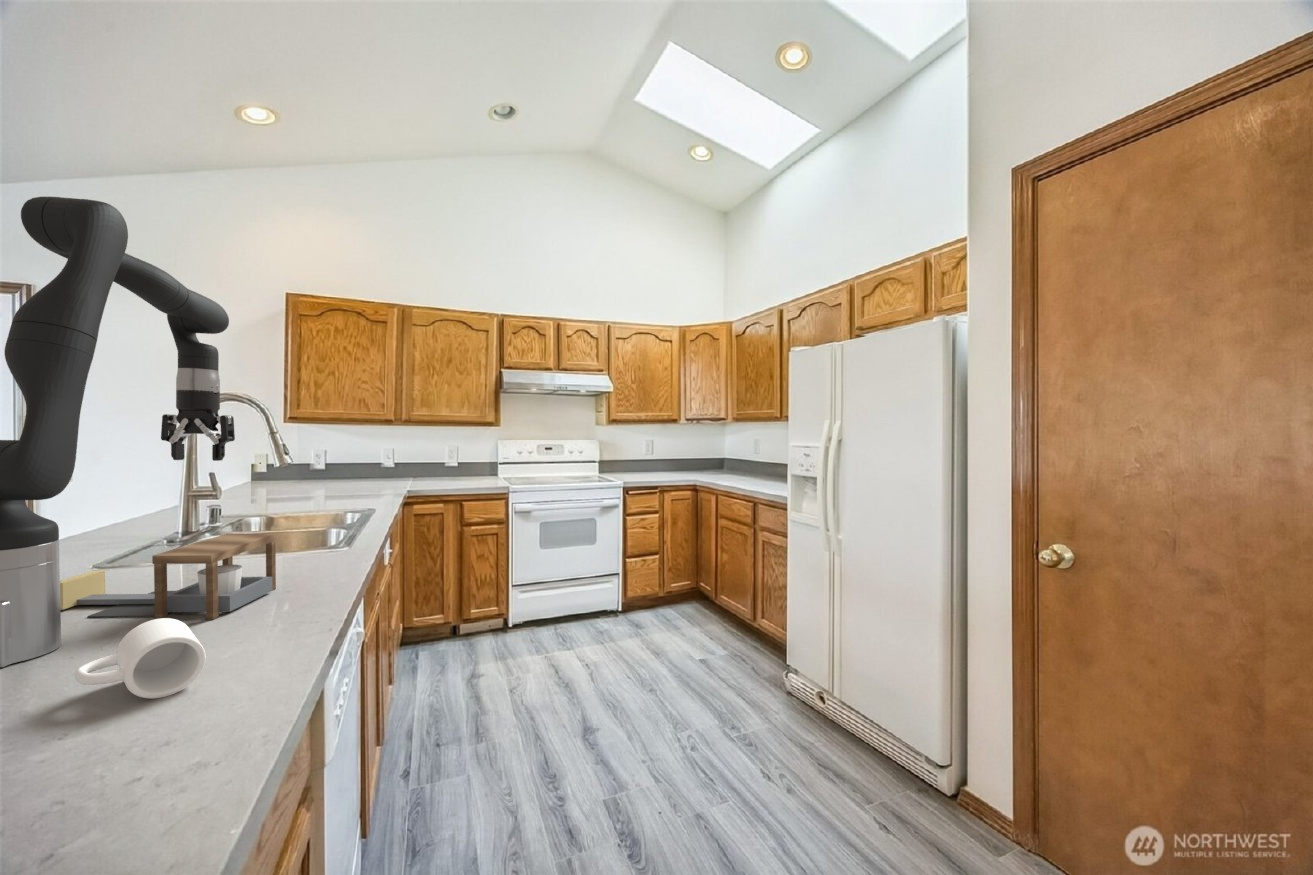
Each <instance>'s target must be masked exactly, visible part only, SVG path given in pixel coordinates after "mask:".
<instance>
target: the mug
mask: <svg viewBox="0 0 1313 875" xmlns="http://www.w3.org/2000/svg"><path fill="white" fill-rule="evenodd" d="M206 655H207V654H206V651H205V648H204V647H203V645H202V644H201V642H200V641H199V639H198V638H197V637H196V634H194V633H193V631H192V630H191V628H190V627H189V626H188V625H187V624H186V623H185V622H183V621H181V620H179V619H175V618H170V617H168V618H161V619H155V618H154V619H151V620H148V621H145V622H142V623H141V624H139V625H137V626H136V627H134V628H132V629H131V630H130V631H128V633H126V634H125V635H124V636H123V638H122V639H121V640H120V642H119V644H118V646H117V649H116V653H114V654H110V655H107V656H103V657H100V658H98V659H95V660H92V661H90V662H87V663H85V664H83V665H82V666H80V667H78V668H77V669H76V670H75V673H74V679H75V681H76V682H77V683H79V684H81V685H85V686H94V685H96V686H97V685H106V684H113V683H117V682H121V681H123V682H124V684H125V687H126V688H127V690H128V691H129V692H130V693H131V694H132V695H134V696H137V697H139V698H143V699H150V700H151V699H162V698H165V697H169V696H172V695H175V694H177V693H179V692H181V691H182V690H184V689H186V688H187V687H189V686H190V685H191V684H192V683H193V682H195V680H197V679H198V677H199V675H200V674H201V673H202V671H203V669H204V667H205V665H206V660H207V657H206ZM115 666H118V667H119V669H114V670H110V671H109V670H108V671H104V672H97V673H96V671H97V670H102V669H106V668H108V667H109V668H110V667H115ZM92 672H93V673H92Z"/></svg>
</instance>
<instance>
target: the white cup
mask: <svg viewBox="0 0 1313 875" xmlns="http://www.w3.org/2000/svg"><path fill="white" fill-rule="evenodd" d="M242 574H243V566H242V565H241V564H233V565H222V564H220V565H218V594H230V593H232V592H234V591H236V590H239V589H240V585H241V577H242ZM198 582H199V589H200V594H206V567H205V568H203V569H200V570H198V571H197V583H198Z"/></svg>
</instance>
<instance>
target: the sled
mask: <svg viewBox="0 0 1313 875" xmlns="http://www.w3.org/2000/svg"><path fill="white" fill-rule="evenodd" d="M174 591H175V592H172V593H169V594H167V605H168V613H206V594H200V589H199V582H198V581H197V582H195V583H193V584H191V585H188V586H185V587H183V588H180V589H178V590H174ZM271 592H273V590H272V577H266V576H241V585H240V589H239V590H236V591H234V592H232V593H230V594H218V613H219V612H220V613H221V612H222V613H223V612H224V613H225V612H226V613H229V612H230V613H231V612H232V611H234V610H236V609H238V608H240V607H243V606H244V605H247V604H248V603H250V602H252V601H254V600H256V599H258V598H261V597H262V596H264V595H266V594H269V593H271ZM119 604H155V594H148V593H113V594H111V593H106V571H105V570H93V571H89V572H86V573H82V574H78V575H75V576H71V577H68V578H65V579H62V580H61V579H60V610H61V611H63V610H66V609H69V608H72V607H74V606H81V605H83V606H85V605H86V606H87V605H88V606H89V605H92V606H93V605H119Z"/></svg>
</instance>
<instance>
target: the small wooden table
mask: <svg viewBox="0 0 1313 875" xmlns="http://www.w3.org/2000/svg"><path fill="white" fill-rule="evenodd" d="M276 541H277V533H225V534H222V535H218V536H215V537H211V538H208V539H204V540H202V541H198V542H194V543H191V544H187V545H184V546H181V547H176V548H174V549H170V550H166V551H163V552H160V553H157V554H154V555H152V562H151V563H152V565H153V573H154V574H153V576H154V578H153V579H154V580H153V581H154V583H153V584H154V586H153V587H154V591H153V592H154V594H155V617H154V619H161V618H169V617H168V613H169V612H168V605H167V591H168V564H169V565H173V564H175V565H176V564H177V565H182V564H184V565H187V564H189V565H190V564H191V565H192V564H193V565H199V564H202V565H203V564H205V568H206V612H205V613H206V614H205V615H206V621H214V620H216V619H217V618H219V612H218V566H219V565H218V562H220V561H221V563H222V564H221V565H234V564H233V563H234V562H233V556H236V555H239V554H242V553H245V552H249V551H251V550H253V549H257V548H259V547H262V546H264V545H265V577H272V591H274V590H276V589H277V587H276V586H277V582H276V579H277V576H276V575H277V574H276V573H277V572H276V571H277V569H276V568H277V567H276V565H277V564H276V559H277V558H276V557H277V556H276Z"/></svg>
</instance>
